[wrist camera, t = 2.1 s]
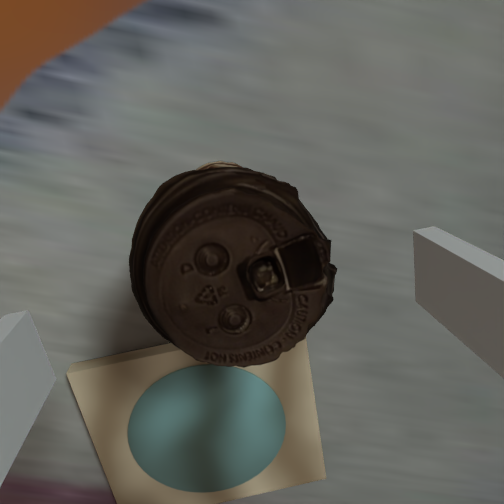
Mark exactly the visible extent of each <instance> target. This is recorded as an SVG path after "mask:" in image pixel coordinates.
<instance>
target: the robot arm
mask: <svg viewBox="0 0 504 504" xmlns="http://www.w3.org/2000/svg"><path fill="white" fill-rule="evenodd" d="M413 240H414V268H415V295H416V302H417V303H418V304H419V305H421V306H422V307H423V308H424V309H425V310H426V311H427V312H429V313H430V314H431V315H432V316H433V317H434V318H435V319H437V320H438V321H439V322H440V323H441V324H442V325H443V326H445V327H446V328H447V329H448V330H449V331H450V332H451V333H453V334H454V335H455V336H456V337H457V338H458V339H459V340H461V341H462V342H463V343H464V344H465V345H466V346H467V347H468V348H470V349H471V350H472V351H473V352H474V353H475V354H476V355H478V356H479V357H480V358H481V359H482V360H483V361H484V362H486V363H487V364H488V365H489V366H490V367H491V368H492V369H494V370H495V371H496V372H497V373H498V374H499V375H500V376H502V377H503V378H504V260H502V259H500V258H498V257H496V256H494V255H492V254H490V253H488V252H486V251H484V250H482V249H480V248H478V247H476V246H473V245H471V244H469V243H467V242H465V241H463V240H461V239H459V238H457V237H455V236H453V235H451V234H449V233H447V232H445V231H443V230H441V229H439V228H437V227H435V226H433V227H428V228H423V229H418V230H414V231H413ZM55 381H56V377H55V374H54V372H53V369H52V367H51V364H50V362H49V359H48V357H47V354H46V352H45V349H44V347H43V345H42V342H41V340H40V337H39V335H38V332H37V330H36V327H35V325H34V322H33V320H32V317H31V315H30V312H29V310H26V311H21V312H17V313H12V314H7V315H4V316H3V317H2V318H1V319H0V487H1V485H2V483H3V481H4V479H5V477H6V475H7V473H8V471H9V469H10V467H11V466H12V464H13V462H14V460H15V458H16V456H17V454H18V452H19V450H20V448H21V446H22V445H23V443H24V441H25V439H26V437H27V435H28V433H29V431H30V429H31V427H32V425H33V423H34V422H35V420H36V418H37V416H38V414H39V412H40V410H41V408H42V406H43V404H44V402H45V400H46V399H47V397H48V395H49V393H50V391H51V389H52V387H53V385H54V383H55Z"/></svg>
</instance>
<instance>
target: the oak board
mask: <svg viewBox="0 0 504 504" xmlns="http://www.w3.org/2000/svg"><path fill="white" fill-rule="evenodd" d="M66 374H67V377H68V379H69V382H70V384H71V387H72V389H73V392H74V395H75V397H76V400H77V402H78V405H79V407H80V410H81V413H82V415H83V418H84V420H85V423H86V425H87V428H88V431H89V433H90V436H91V438H92V441H93V443H94V446H95V448H96V451H97V454H98V456H99V459H100V461H101V464H102V466H103V469H104V472H105V474H106V477H107V479H108V482H109V484H110V487H111V489H112V492H113V495H114V497H115V500H116V502H117V504H217V503H222V502H226V501H230V500H235V499H239V498H243V497H248V496H252V495H257V494H261V493H265V492H270V491H274V490H278V489H283V488H287V487H292V486H296V485H300V484H305V483H309V482H313V481H318V480H322V479H326V473H325V466H324V459H323V452H322V445H321V439H320V432H319V425H318V418H317V411H316V404H315V397H314V390H313V383H312V377H311V370H310V363H309V356H308V349H307V342H306V337H305V339H304V340H302V341H300V342H298V343H297V344H296V346H295V347H294V348H292V349H291V350H290V351H288V352H282V353H281V355H280V357H279V358H278V359H277V360H275V361H273V362H270V363H266V364H262V365H255V366H253V365H252V366H248V367H245V368H243V367H238V366H232V367H226V366H215V365H213V364H209V363H207V362H200V361H196V360H195V359H194V358H193V357H191V356H189V355H188V354H186V353H184V352H183V351H182V350H181V349H179V348H178V347H176V346H174V345H173V344H172V343H169V344H164V345H159V346H154V347H149V348H145V349H140V350H135V351H130V352H125V353H121V354H116V355H111V356H106V357H101V358H97V359H92V360H87V361H82V362H77V363H73V364H71V366H70V368H69V370H68V371H67V373H66Z"/></svg>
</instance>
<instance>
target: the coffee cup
mask: <svg viewBox="0 0 504 504" xmlns="http://www.w3.org/2000/svg"><path fill="white" fill-rule="evenodd" d="M330 252H331V240H328V239H327V238H326V236H325V235H324V234H323V232H322V231H321V229H320V228H319V225H318V223H317V222H316V221H315V220H314V218H313V217H312V215H311V214H310V213H309V211H308V210H307V209H306V208H305V207H304V205H303V204H302V203H301V201H300V200H299V199H298V191H297V189H296V187H293V186H291V185H290V184H289V183H286V182H281V181H278V180H277V179H276V178H275V177H273V176H270V175H267V174H265V173H261V172H256V171H253V170H251V169H249V168H243V167H241V166H240V165H238V164H236V163H233V162H230V163H226V162H223V161H217V162H212V163H207V164H205V165H203V166H201V167H199V168H198V169H196V170H192V171H188V172H184V173H181V174H179V175H176V176H174V177H172V178H171V179H169V180H168V181H166V182H164V183H163V184H162V185H161V186H160V187H159V188H158V189H157V191H156V193H155V194H154V196H153V198H152V199H151V200H150V201H149V202H148V203H147V205H146V206H145V208H144V210H143V212H142V214H141V215H140V217H139V219H138V222H137V224H136V228H135V231H134V234H133V238H132V248H131V252H130V256H129V266H130V277H131V283H132V291H133V294H134V296H135V298H136V300H137V302H138V305H139V307H140V309H141V311H142V313H143V315H144V316H145V318H146V319H147V320H148V322H149V323H150V324H151V325H152V326H153V328H154V329H155V330H156V331H157V332H158V333H159V334H160V335H161V336H162V337H164V338H165V339H167V340H169V341H170V342H171V343H172V344H173V345H174V346H176V347H178V348H179V349H181V350H182V351H183V352H184V353H186V354H188V355H189V356H191V357H193V358H194V359H195V360H196V361H200V362H207V363H209V364H213V365H215V366H226V367H232V366H238V367H243V368H245V367H248V366H252V365H253V366H255V365H262V364H266V363H270V362H273V361H275V360H277V359H278V358H279V357H280V355H281V353H282V352H288V351H290V350H291V349H292V348H294V347H295V346H296V344H297V343H298V342H300V341H302V340H304V339H305V337H306V334H307V333H308V332H309V330H310V329H311V328H312V327H313V326H315V324H316V323H317V322H318V321H319V319H320V318H321V317H322V316H323V314H324V313H325V312H326V309H327V307H328V306H329V305H330V304H331V303H332V301H333V297H332V293H333V291H334V279H335V274H336V272H337V268H336V267H335V266H334V265H333V264H330V263H329V262H330Z"/></svg>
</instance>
